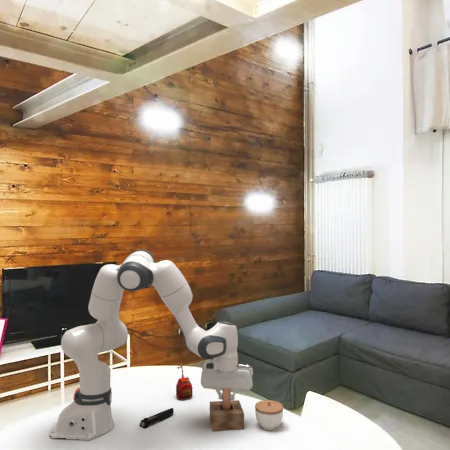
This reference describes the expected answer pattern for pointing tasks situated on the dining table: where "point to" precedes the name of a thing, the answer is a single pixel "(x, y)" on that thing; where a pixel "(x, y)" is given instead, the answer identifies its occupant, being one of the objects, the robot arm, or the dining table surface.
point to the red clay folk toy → (183, 387)
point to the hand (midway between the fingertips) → (226, 399)
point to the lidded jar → (269, 414)
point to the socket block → (226, 416)
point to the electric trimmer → (156, 418)
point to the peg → (226, 399)
